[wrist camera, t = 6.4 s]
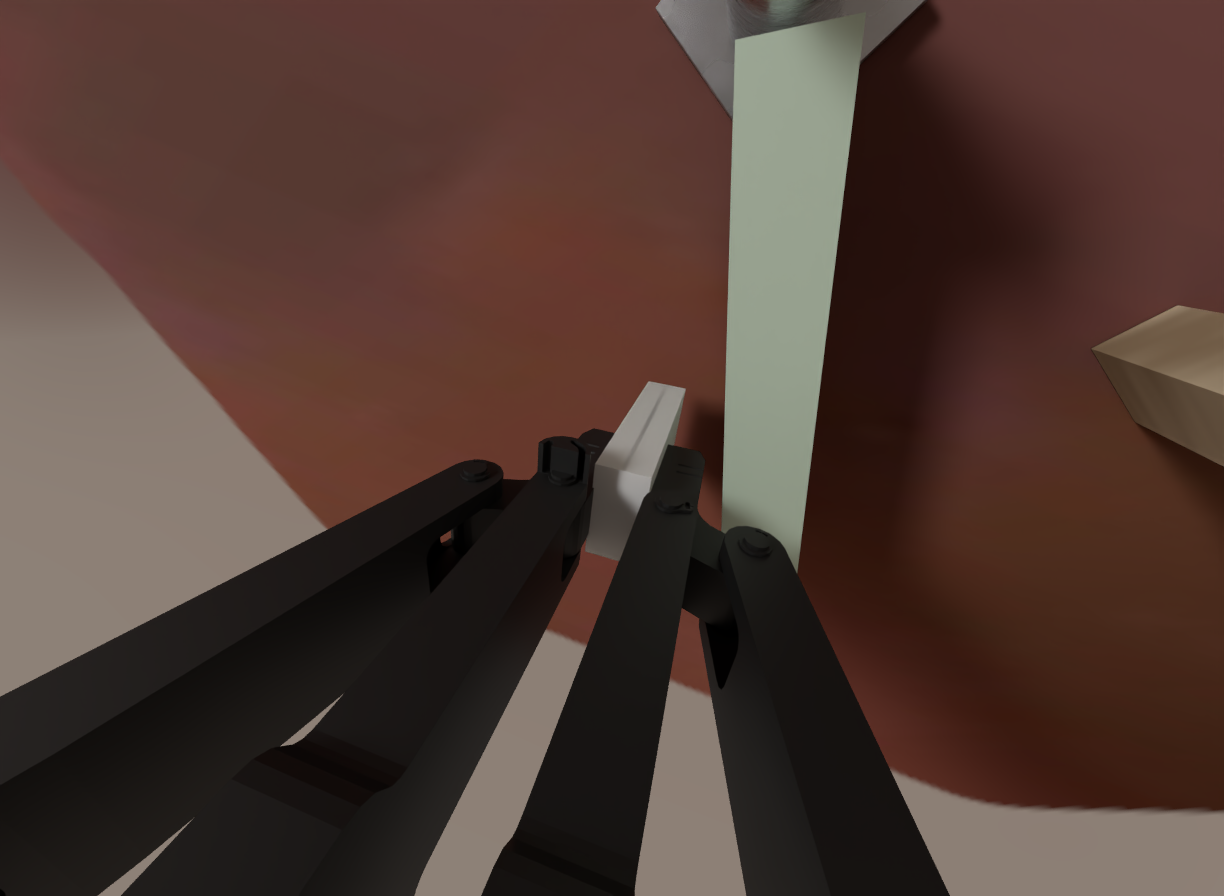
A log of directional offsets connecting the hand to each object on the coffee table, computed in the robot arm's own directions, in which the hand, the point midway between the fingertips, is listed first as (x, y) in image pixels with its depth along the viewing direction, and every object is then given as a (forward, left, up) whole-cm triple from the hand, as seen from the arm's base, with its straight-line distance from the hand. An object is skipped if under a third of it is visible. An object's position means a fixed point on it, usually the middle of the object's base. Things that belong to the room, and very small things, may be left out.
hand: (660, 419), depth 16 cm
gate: (-4, +1, -1) cm, 4 cm away
